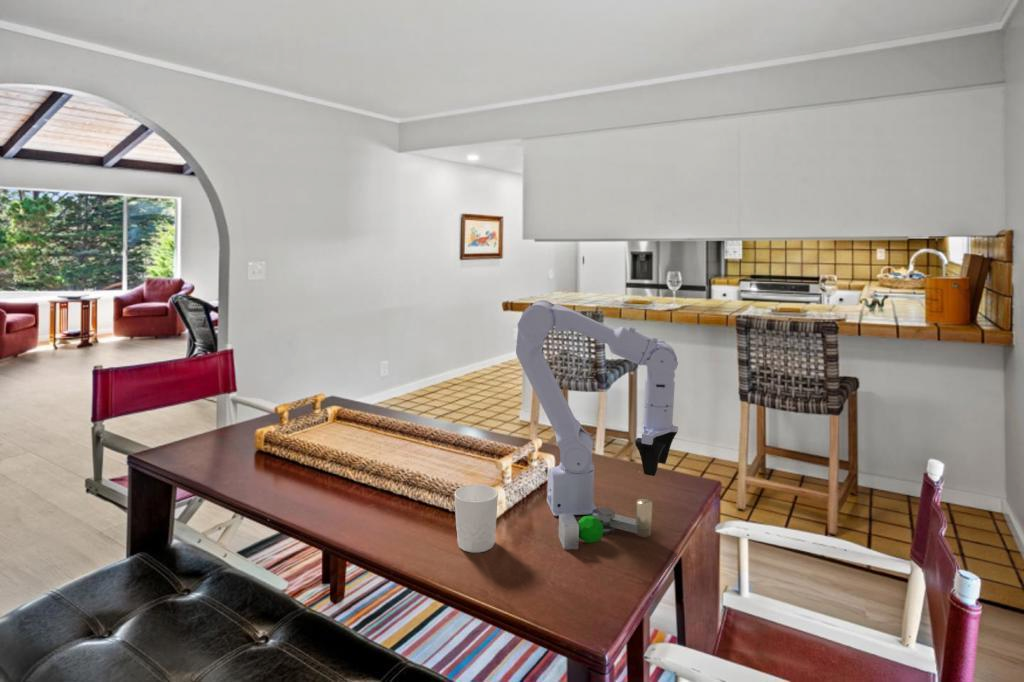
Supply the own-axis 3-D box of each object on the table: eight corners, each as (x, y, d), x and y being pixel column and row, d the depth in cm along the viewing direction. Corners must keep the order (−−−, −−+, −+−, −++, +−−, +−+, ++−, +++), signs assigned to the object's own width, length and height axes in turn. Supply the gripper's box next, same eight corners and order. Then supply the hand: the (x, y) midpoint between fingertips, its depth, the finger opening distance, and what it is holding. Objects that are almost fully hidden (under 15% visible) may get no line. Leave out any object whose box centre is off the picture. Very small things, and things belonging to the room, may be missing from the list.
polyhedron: (580, 549, 111) (581, 524, 111) (572, 536, 116) (573, 512, 115) (606, 546, 112) (607, 522, 112) (597, 534, 117) (598, 510, 116)
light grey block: (564, 549, 111) (564, 526, 110) (558, 536, 116) (559, 514, 115) (578, 548, 111) (579, 525, 111) (571, 535, 116) (572, 513, 116)
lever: (588, 524, 118) (589, 493, 117) (597, 515, 122) (598, 486, 121) (646, 539, 112) (647, 508, 111) (654, 530, 116) (655, 499, 115)
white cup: (497, 533, 117) (497, 484, 115) (497, 554, 109) (498, 501, 107) (455, 533, 117) (455, 484, 115) (453, 555, 109) (453, 502, 107)
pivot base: (594, 535, 117) (594, 530, 117) (588, 524, 121) (588, 519, 121) (618, 533, 117) (618, 528, 117) (610, 522, 122) (611, 518, 122)
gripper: (669, 415, 114) (665, 484, 116) (687, 398, 126) (683, 460, 128) (632, 409, 117) (629, 477, 119) (653, 393, 130) (650, 454, 132)
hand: (655, 468), depth 124 cm, fingers open, 7 cm apart
